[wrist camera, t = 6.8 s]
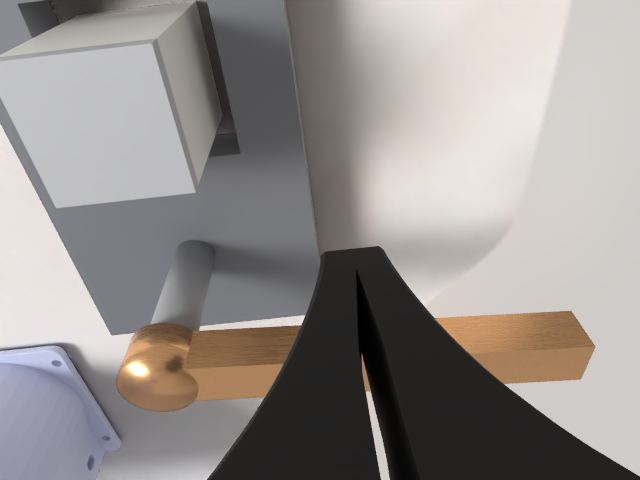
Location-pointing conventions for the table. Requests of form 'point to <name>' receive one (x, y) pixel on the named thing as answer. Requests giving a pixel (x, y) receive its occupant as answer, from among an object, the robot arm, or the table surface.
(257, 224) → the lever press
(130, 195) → the plug
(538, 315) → the wooden square stick
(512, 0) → the table surface
